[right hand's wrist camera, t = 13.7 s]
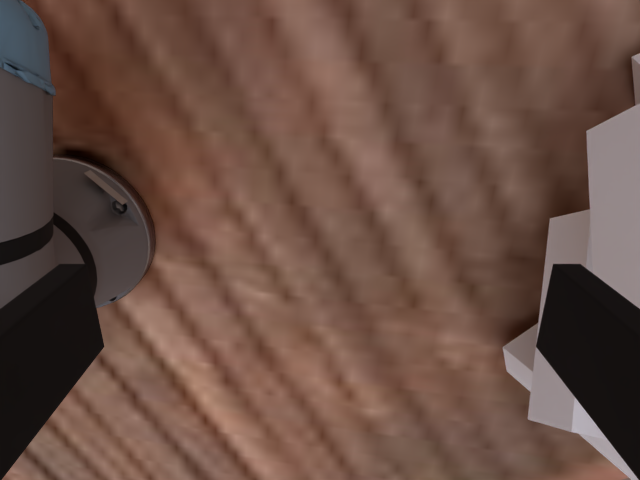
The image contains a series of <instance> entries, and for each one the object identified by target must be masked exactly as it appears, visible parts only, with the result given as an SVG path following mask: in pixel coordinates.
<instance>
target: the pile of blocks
mask: <svg viewBox="0 0 640 480" xmlns="http://www.w3.org/2000/svg"><path fill="white" fill-rule="evenodd" d="M631 58H632V70H633V82H634V94H635V106H634V107H632V108H630V109H628V110H626V111H624V112H622V113H620V114H618V115H616V116H614V117H612V118H610V119H608V120H607V121H605V122H603V123H601V124H599V125H597V126H595V127H593V128H591V129H589V130H587V131H586V134H587V156H588V178H589V200H590V209H589V210H585V211H580V212H576V213H571V214H567V215H563V216H558V217H554V218H550V222H549V231H548V240H547V249H546V258H545V267H544V276H543V285H542V295H541V304H540V313H539V322H538V323H537V324H536V325H534V326H533V327H531V328H530V329H528V330H527V331H525V332H524V333H522V334H521V335H520V336H518V337H517V338H515V339H514V340H512V341H511V342H509V343H508V344H506V345H505V346H503V352H504V358H505V364H506V369H507V372H508V373H509V374H511V375H512V376H513V377H514V378H515V379H516V380H518V381H519V382H520V383H521V384H522V385H523V386H524V387H526V388H527V389H528V390H529V391H530V392H531V394H530V403H529V413H528V420H532V421H535V422H539V423H542V424H546V425H549V426H553V427H556V428H560V429H563V430H567V431H570V432H574V433H578V434H580V435H581V436H582V437H583V438H584V439H585V440H586V441H588V442H589V443H590V444H591V445H592V446H593V447H595V448H596V449H597V450H598V451H599V452H600V453H601V454H603V455H604V456H605V457H606V458H607V459H608V460H609V461H611V462H612V463H613V464H614V465H615V466H616V467H617V468H619V469H620V470H621V471H622V472H623V473H624V474H626V475H627V476H628V477H629V478H630V479H631V480H638V478H637V477H636V476H635V474H634V473H633V472H632V471H631V469H630V468H629V467H628V465H627V464H626V463H625V461H624V460H623V459H622V458H621V456H620V455H619V454H618V452H617V451H616V450H615V449H614V447H613V446H612V445H611V443H610V442H609V441H608V439H607V438H606V437H605V436H604V434H603V433H602V432H601V430H600V429H599V428H598V426H597V425H596V424H595V423H594V421H593V420H592V419H591V417H590V416H589V415H588V414H587V412H586V411H585V410H584V408H583V407H582V406H581V404H580V403H579V402H578V401H577V399H576V398H575V397H574V395H573V394H572V393H571V392H570V390H569V389H568V388H567V386H566V385H565V384H564V382H563V381H562V380H561V379H560V377H559V376H558V375H557V373H556V372H555V371H554V369H553V368H552V367H551V366H550V364H549V363H548V362H547V360H546V359H545V358H544V357H543V355H542V354H541V353H540V351H539V350H538V349H537V347H536V343H537V338H538V334H539V329H540V324H541V319H542V314H543V310H544V305H545V300H546V295H547V290H548V286H549V281H550V276H551V271H552V266H553V264H581V265H582V266H584V267H585V268H586V269H588V270H589V271H590V272H592V273H593V274H594V275H596V276H597V277H598V278H600V279H601V280H602V281H604V282H605V283H606V284H608V285H609V286H610V287H612V288H613V289H614V290H616V291H617V292H618V293H619V294H621V295H622V296H623V297H625V298H626V299H627V300H629V301H630V302H631V303H633V304H634V305H635V306H637V307H638V308H639V309H640V53H639V54H637V55H634V56H632V57H631Z"/></svg>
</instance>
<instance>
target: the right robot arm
mask: <svg viewBox="0 0 640 480" xmlns="http://www.w3.org/2000/svg"><path fill="white" fill-rule="evenodd" d="M53 96H56V90H55V87H54V86H53V85H52V83H51V73H50V59H49V44H48V35H47V31H46V28H45V26H44V24H43V22H42V20H41V19H40V17H39V16H38V15H37V13H36V12H35V11H34V10H33V9H32V8H30V7H29V6H28V5H27V4H25V3H24V2H22V1H21V0H0V480H2V478H3V477H4V476H5V474H6V473H7V472H8V471H9V469H10V468H11V467H12V465H13V464H14V463H15V461H16V460H17V459H18V458H19V456H20V455H21V454H22V452H23V451H24V450H25V449H26V447H27V446H28V445H29V443H30V442H31V441H32V439H33V438H34V437H35V436H36V434H37V433H38V432H39V430H40V429H41V428H42V426H43V425H44V424H45V423H46V421H47V420H48V419H49V417H50V416H51V415H52V414H53V412H54V411H55V410H56V408H57V407H58V406H59V404H60V403H61V402H62V401H63V399H64V398H65V397H66V395H67V394H68V393H69V392H70V390H71V389H72V388H73V386H74V385H75V384H76V382H77V381H78V380H79V379H80V377H81V376H82V375H83V373H84V372H85V371H86V369H87V368H88V367H89V366H90V364H91V363H92V362H93V360H94V359H95V358H96V357H97V355H98V354H99V353H100V351H101V350H102V349H103V347H104V343H103V338H102V334H101V329H100V324H99V319H98V314H97V310H96V308H98V307H101V306H104V305H107V304H110V303H112V302H115V301H117V300H119V299H121V298H122V297H124V296H125V295H127V294H128V293H129V292H130V291H131V290H132V289H133V288H134V287H135V286H136V285H137V284H138V283H139V281H140V280H141V279H142V278H143V276H144V275H145V274H146V272H147V271H148V269H149V267H150V265H151V262H152V259H153V256H154V251H155V231H154V226H153V222H152V219H151V216H150V213H149V211H148V209H147V207H146V205H145V203H144V202H143V200H142V199H141V197H140V196H139V194H138V193H137V192H136V191H135V189H134V188H133V187H132V186H131V185H130V184H129V183H128V182H127V181H126V180H125V179H124V178H122V177H121V176H120V175H119V174H117V173H116V172H114V171H113V170H111V169H110V168H108V167H106V166H104V165H102V164H100V163H98V162H95V161H93V160H90V159H87V158H84V157H79V156H73V155H53ZM536 347H537V349H538V350H539V351H540V353H541V354H542V355H543V357H544V358H545V359H546V360H547V362H548V363H549V364H550V366H551V367H552V368H553V369H554V371H555V372H556V373H557V375H558V376H559V377H560V379H561V380H562V381H563V382H564V384H565V385H566V386H567V388H568V389H569V390H570V392H571V393H572V394H573V395H574V397H575V398H576V399H577V401H578V402H579V403H580V404H581V406H582V407H583V408H584V410H585V411H586V412H587V414H588V415H589V416H590V417H591V419H592V420H593V421H594V423H595V424H596V425H597V426H598V428H599V429H600V430H601V432H602V433H603V434H604V436H605V437H606V438H607V439H608V441H609V442H610V443H611V445H612V446H613V447H614V449H615V450H616V451H617V452H618V454H619V455H620V456H621V458H622V459H623V460H624V461H625V463H626V464H627V465H628V467H629V468H630V469H631V471H632V472H633V473H634V474H635V476H636V477H637V478H638V480H640V309H639V308H638V307H637V306H635V305H634V304H633V303H631V302H630V301H629V300H627V299H626V298H625V297H623V296H622V295H621V294H619V293H618V292H617V291H616V290H614V289H613V288H612V287H610V286H609V285H608V284H606V283H605V282H604V281H602V280H601V279H600V278H598V277H597V276H596V275H594V274H593V273H592V272H590V271H589V270H588V269H586V268H585V267H584V266H582V265H581V264H553V266H552V271H551V276H550V281H549V286H548V290H547V295H546V300H545V305H544V310H543V314H542V319H541V324H540V329H539V334H538V338H537V343H536Z"/></svg>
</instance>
